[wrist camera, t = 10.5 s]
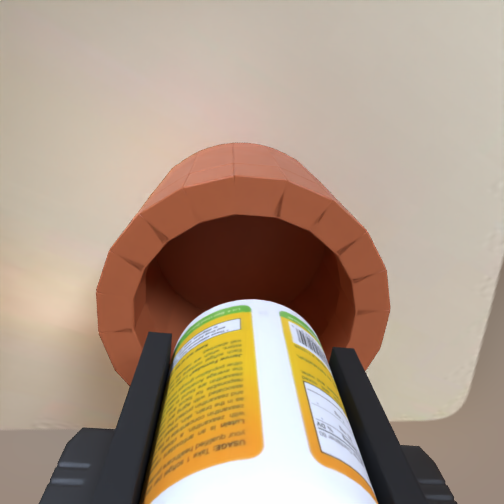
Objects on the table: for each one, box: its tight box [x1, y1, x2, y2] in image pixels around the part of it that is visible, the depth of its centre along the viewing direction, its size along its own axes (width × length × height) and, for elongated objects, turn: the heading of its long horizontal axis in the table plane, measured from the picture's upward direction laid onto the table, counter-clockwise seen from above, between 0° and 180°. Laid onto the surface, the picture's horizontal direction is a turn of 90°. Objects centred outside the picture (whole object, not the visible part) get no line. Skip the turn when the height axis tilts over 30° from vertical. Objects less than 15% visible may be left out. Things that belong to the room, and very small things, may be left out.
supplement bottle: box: [139, 299, 378, 504], centre depth 10 cm, size 5×5×10 cm
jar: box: [96, 143, 390, 386], centre depth 21 cm, size 12×12×10 cm
